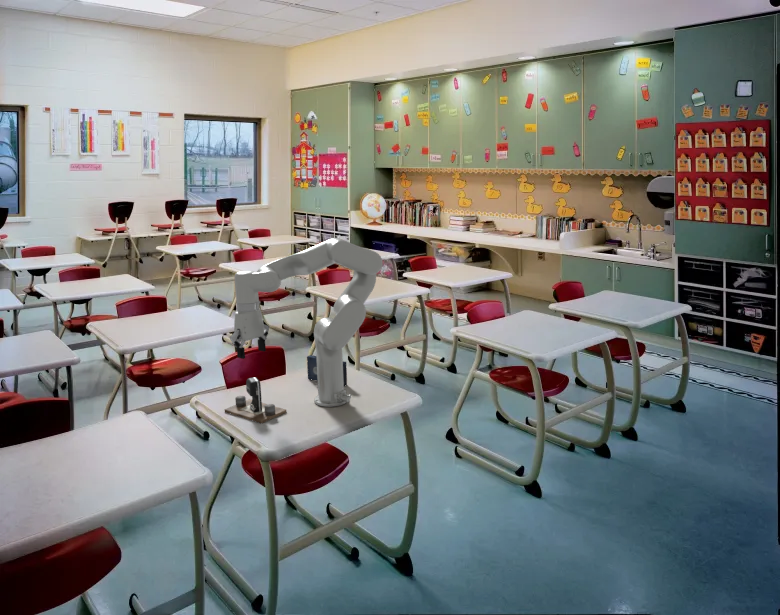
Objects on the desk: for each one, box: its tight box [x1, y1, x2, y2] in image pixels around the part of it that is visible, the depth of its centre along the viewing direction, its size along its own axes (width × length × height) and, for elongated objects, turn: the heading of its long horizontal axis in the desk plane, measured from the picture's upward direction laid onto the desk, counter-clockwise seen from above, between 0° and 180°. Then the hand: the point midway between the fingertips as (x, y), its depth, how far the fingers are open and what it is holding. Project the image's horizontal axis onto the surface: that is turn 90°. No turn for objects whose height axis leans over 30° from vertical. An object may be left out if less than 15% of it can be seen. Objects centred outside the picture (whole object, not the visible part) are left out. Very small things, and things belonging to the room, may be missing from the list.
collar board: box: [224, 395, 287, 424], centre depth 229 cm, size 19×12×4 cm, turn 55°
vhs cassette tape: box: [306, 354, 348, 387], centre depth 258 cm, size 18×3×10 cm, turn 57°
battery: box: [245, 377, 263, 412], centre depth 227 cm, size 7×4×11 cm, turn 27°
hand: (251, 354), depth 224 cm, fingers open, 9 cm apart
